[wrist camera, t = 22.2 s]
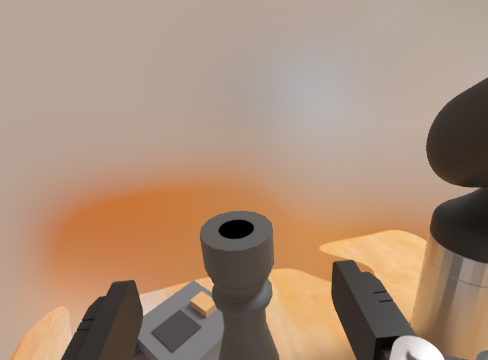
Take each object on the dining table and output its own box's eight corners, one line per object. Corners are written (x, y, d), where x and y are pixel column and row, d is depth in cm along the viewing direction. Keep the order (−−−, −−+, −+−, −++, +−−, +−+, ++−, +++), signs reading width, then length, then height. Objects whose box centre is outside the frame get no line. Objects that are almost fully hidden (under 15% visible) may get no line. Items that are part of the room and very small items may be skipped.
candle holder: (215, 433, 33) (179, 238, 23) (245, 383, 38) (227, 203, 28) (265, 471, 30) (248, 263, 20) (292, 411, 34) (289, 219, 24)
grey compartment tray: (195, 293, 53) (192, 274, 52) (246, 329, 46) (245, 309, 44) (62, 395, 39) (51, 373, 37) (105, 473, 31) (94, 450, 30)
